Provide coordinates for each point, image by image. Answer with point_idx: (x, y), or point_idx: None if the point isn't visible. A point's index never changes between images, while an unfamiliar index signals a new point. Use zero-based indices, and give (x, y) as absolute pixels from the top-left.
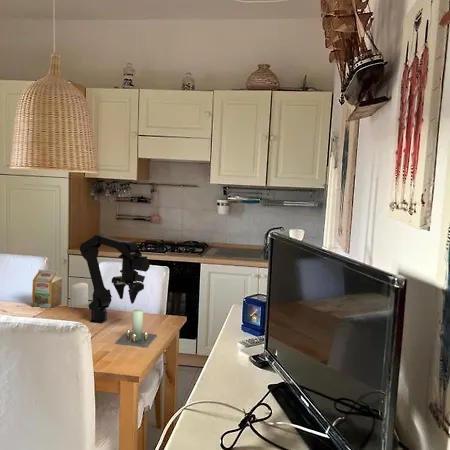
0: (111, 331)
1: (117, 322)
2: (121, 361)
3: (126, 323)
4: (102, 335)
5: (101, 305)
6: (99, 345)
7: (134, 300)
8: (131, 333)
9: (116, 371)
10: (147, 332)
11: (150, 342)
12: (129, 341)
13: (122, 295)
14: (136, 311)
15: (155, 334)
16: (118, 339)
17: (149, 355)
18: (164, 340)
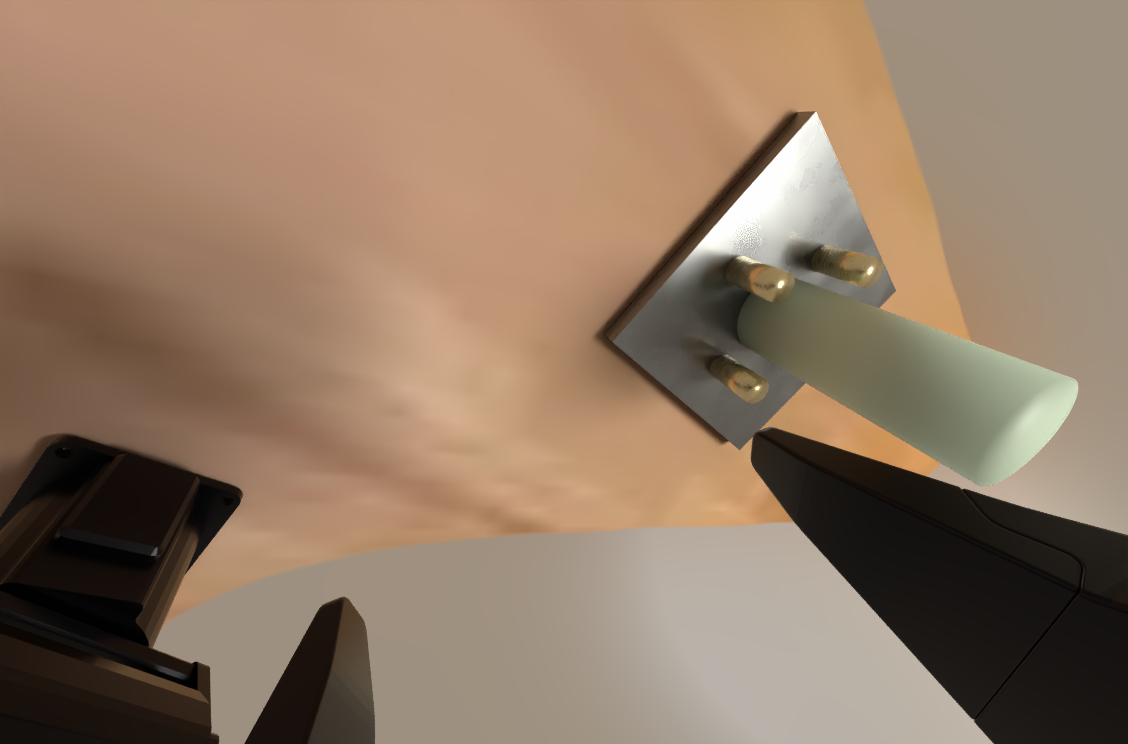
0: (509, 436)
1: (220, 339)
2: (892, 444)
3: (287, 246)
4: (566, 496)
5: (206, 710)
6: (701, 513)
7: (839, 454)
8: (676, 323)
9: (929, 469)
10: (882, 263)
11: (870, 245)
12: (787, 377)
13: (340, 693)
14: (1014, 452)
15: (807, 124)
16: (722, 431)
17: (945, 314)
18: (889, 93)
